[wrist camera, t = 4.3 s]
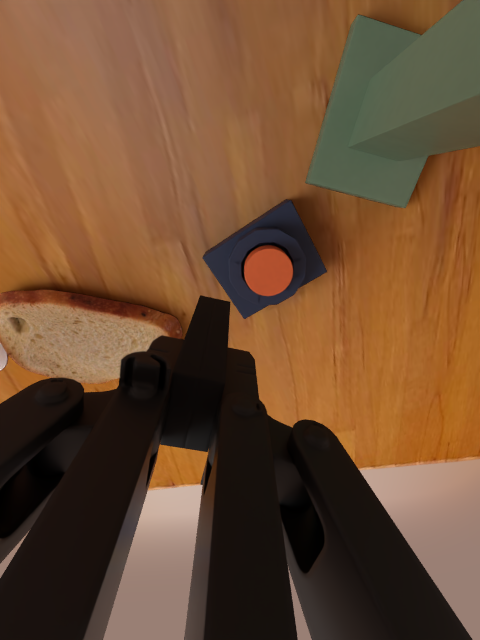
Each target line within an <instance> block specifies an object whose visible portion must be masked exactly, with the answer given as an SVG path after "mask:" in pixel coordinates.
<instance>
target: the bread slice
mask: <svg viewBox="0 0 480 640" xmlns="http://www.w3.org/2000/svg"><path fill="white" fill-rule="evenodd" d="M161 335H163V336H168V337H173V338H178V339H181V337H182V329H181V326H180V323H179V321H178V319H177V318H175V317H174V316H172V315H170V314H167V313H161V312H159V311H157V310H153V309H150V308H147V307H145V306H141V305H134V304H131V303H127V302H118V301H114V300H107V299H102V298H98V297H93V296H88V295H82V294H77V293H70V292H61V291H55V290H36V291H9V292H4V293H1V294H0V342H1V344H2V346H3V348H4V350H5V351H6V353H7V354H8V355H9V356H10V357H11V358H12V359H13V360H14V361H15V362H16V363H17V364H18V365H20V366H21V367H22V368H24V369H26V370H28V371H31V372H34V373H37V374H41V375H44V376H48V377H51V378H61V377H64V378H69V379H74V380H76V381H77V382H79V383H90V384H92V383H106V382H109V381H111V380H113V379H117V378H120V366H121V359H123V358H124V357H125V356H126V355H128V354H131V353H134V352H140V351H147V350H148V349H149V346H150V345H151V343H152V341H153V340H154V339H156V338H158V337H160V336H161Z"/></svg>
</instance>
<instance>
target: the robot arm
mask: <svg viewBox="0 0 480 640" xmlns="http://www.w3.org/2000/svg"><path fill="white" fill-rule="evenodd" d="M229 315H230V302H228V301H224V300H219V299H214V298H210V297H205V296H201V295H200V298H199V300H198V303H197V306H196V309H195V311H194V314H193V317H192V320H191V322H190V325H189V328H188V331H187V333H186V336H185V339H184V340H183V339H178V338H173V337H168V336H163V335H161V336H160V337H158V338H156V339H154V340H153V341H152V343H151V345H150V346H149V349H148V350H147V351H140V352H134V353H131V354H128V355H126V356H125V357H124V358H123V359H121V366H120V379H119V386H118V388H117V389H114V390H110V391H104V392H86V393H84V388H83V386H82V385H81V383H79V382H77V381H76V380H74V379H69V378H64V377H61V378H49V379H45V380H41V381H38V382H36V383H34V384H32V385H30V386H28V387H27V388H25V389H23V390H22V391H20V392H19V393H17V394H15V395H14V396H12V397H10V398H9V399H7V400H6V401H4V402H2V403H1V404H0V563H1V562H2V561H3V560H4V559H5V557H6V556H7V555H8V554H9V553H10V552H11V551H12V550H13V548H14V547H15V546H16V545H17V544H18V543H19V542H20V541H21V539H22V538H23V537H24V536H25V535H26V534H27V533H28V531H29V530H30V531H29V533H28V534H27V536H26V538H25V539H24V541H23V542H22V544H21V546H20V547H19V549H18V550H17V552H16V554H15V555H14V557H13V559H12V560H11V562H10V564H9V565H8V567H7V569H6V570H5V572H4V573H3V575H2V577H1V578H0V640H103V638H104V634H105V631H106V628H107V624H108V621H109V617H110V614H111V611H112V608H113V604H114V601H115V597H116V594H117V591H118V588H119V584H120V581H121V577H122V574H123V571H124V567H125V564H126V560H127V557H128V554H129V550H130V547H131V544H132V540H133V537H134V534H135V531H136V527H137V524H138V521H139V517H140V514H141V510H142V507H143V504H144V500H145V497H146V494H147V490H148V487H149V484H150V480H151V477H152V474H153V470H154V467H155V464H156V460H157V454H158V448H159V445H160V444H161V445H167V446H173V447H179V448H186V449H192V450H198V451H204V452H208V457H207V461H206V465H205V469H204V472H203V476H202V480H201V485H203V487H202V496H201V504H200V512H199V520H198V529H197V537H196V545H195V554H194V562H193V570H192V579H191V587H190V596H189V604H188V612H187V621H186V629H185V637H184V640H297V631H296V624H295V617H294V609H293V602H292V596H291V595H292V594H291V587H290V580H289V572H288V567H289V570H290V573H291V576H292V579H293V582H294V586H295V589H296V592H297V595H298V598H299V601H300V604H301V607H302V611H303V614H304V617H305V620H306V623H307V626H308V629H309V632H310V635H311V638H312V640H472V638H471V637H470V635H469V634H468V632H467V631H466V629H465V628H464V626H463V625H462V623H461V622H460V620H459V619H458V617H457V616H456V615H455V613H454V611H453V610H452V609H451V607H450V605H449V604H448V602H447V601H446V599H445V598H444V597H443V595H442V593H441V592H440V590H439V589H438V588H437V586H436V585H435V583H434V582H433V580H432V579H431V577H430V576H429V574H428V573H427V571H426V570H425V568H424V567H423V565H422V564H421V562H420V561H419V559H418V558H417V556H416V555H415V553H414V552H413V550H412V549H411V547H410V546H409V545H408V543H407V541H406V540H405V538H404V537H403V535H402V534H401V532H400V531H399V529H398V528H397V526H396V525H395V523H394V522H393V520H392V519H391V518H390V516H389V514H388V513H387V511H386V510H385V508H384V507H383V506H382V504H381V502H380V501H379V499H378V498H377V497H376V495H375V493H374V492H373V491H372V489H371V488H370V486H369V484H368V483H367V481H366V480H365V479H364V477H363V476H362V474H361V473H360V471H359V470H358V468H357V467H356V465H355V464H354V462H353V461H352V459H351V458H350V456H349V455H348V453H347V452H346V450H345V449H344V447H343V446H342V444H341V443H340V441H339V440H338V438H337V437H336V436H335V435H334V433H333V432H332V431H331V430H330V429H328V428H327V427H326V426H324V425H323V424H320V423H318V422H316V421H312V420H306V419H305V420H300V421H298V422H297V423H295V424H294V426H293V428H292V427H290V426H287V425H285V424H283V423H280V422H278V421H276V420H275V419H273V418H271V417H270V416H269V415H268V414H267V411H266V408H265V406H264V404H263V403H262V402H261V401H260V400H259V394H258V385H257V376H256V369H255V368H256V367H255V359H254V358H253V357H252V355H251V354H250V353H249V352H248V351H243V350H238V349H233V348H228V332H229ZM160 442H161V443H160ZM208 448H209V451H208ZM287 564H288V565H287Z"/></svg>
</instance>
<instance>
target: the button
mask: <svg viewBox="0 0 480 640" xmlns="http://www.w3.org/2000/svg"><path fill="white" fill-rule="evenodd" d="M244 273H245V280H246V282H247V284H248V286H249V287H250V289H251V290H253V291H254V292H255V293H257V294H259V295H263V296H273V295H276V294H279V293H281V292H282V291H284V290H285V289H286V288H287V287H288V285H289V284H290V282H291V280H292V277H293V266H292V263H291V260H290V259H289V257H288V256H287V255H286V254H285V252H284V251H283V250H281V249H280V248H278V247H276V246H272V245H263V246H260V247H258V248H256V249H254V250H253V251H252V252H251V253H250V254H249V255H248V257H247V259H246V261H245V265H244Z"/></svg>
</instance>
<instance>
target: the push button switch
mask: <svg viewBox="0 0 480 640" xmlns="http://www.w3.org/2000/svg"><path fill="white" fill-rule="evenodd" d="M263 245H272V246H276V247H278V248H280V249H281V250H283V251H284V252H285V254H286V255H287V256H288V257H289V259H290V260H291V263H292V266H293V277H292V280H291V282H290V284H289V285H288V287H287V288H286V289H285V290H284V291H282V292H281V293H279V294H276V295H273V296H263V295H259V294H257V293H255V292H254V291H253V290H251V289H250V287H249V286H248V284H247V282H246V280H245V273H244V265H245V261H246V259H247V257H248V255H249V254H250V253H251V252H252V251H253V250H254V249H256V248H258V247H260V246H263ZM203 259H204V261H205V262H206V264H207V265H208V267H209V268H210V270H211V271H212V273H213V274H214V275H215V277H216V278H217V280H218V281H219V283H220V284H221V286H222V287H223V289H224V290H225V292H226V293H227V295H228V296H229V297H230V299H231V300H232V302H233V303H234V305H235V306H236V308H237V309H238V311H239V312H240V314H241V315H242V317H243V318H244V319H246V318H247V317H249V316H251V315H253V314H254V313H256V312H258V311H259V310H261V309H263V308H265V307H266V306H268V305H276V304H279V303H280V302H282V301H284V300H286V299H287V298H289V297H291V296H293V295H294V294H295V292H296V291H297V289H298V288H300V287H301V286H303V285H305V284H307V283H308V282H310V281H312V280H314V279H315V278H317V277H319V276H321V275H322V274H324V273H326V272H327V270H326V268H325V266H324V264H323V262H322V260H321V258H320V256H319V254H318V252H317V250H316V248H315V246H314V244H313V242H312V240H311V238H310V236H309V234H308V232H307V230H306V228H305V226H304V225H303V223H302V221H301V219H300V217H299V215H298V213H297V211H296V209H295V207H294V205H293V203H292V201H291V200H287V199H286V200H284V201H283V202H281V203H280V204H278V205H277V206H275V207H274V208H272V209H271V210H269V211H267V212H266V213H264V214H263V215H261V216H260V217H258V218H257V219H255V220H254V221H252V222H251V223H249V224H248V225H246V226H245V227H243V228H242V229H240V230H239V231H237V232H235V233H234V234H232V235H231V236H229V237H228V238H226V239H225V240H223V241H222V242H220V243H219V244H217V245H216V246H214V247H213V248H211V249H210V250H208V251H206V252H205V254H204V256H203Z"/></svg>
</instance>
